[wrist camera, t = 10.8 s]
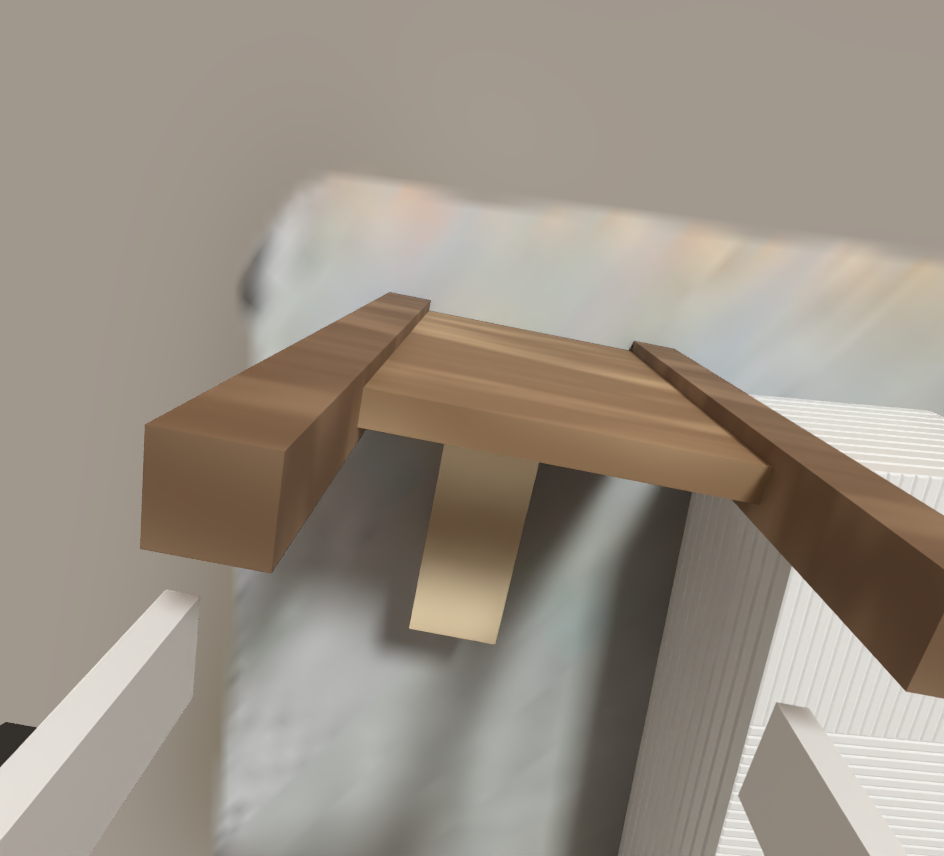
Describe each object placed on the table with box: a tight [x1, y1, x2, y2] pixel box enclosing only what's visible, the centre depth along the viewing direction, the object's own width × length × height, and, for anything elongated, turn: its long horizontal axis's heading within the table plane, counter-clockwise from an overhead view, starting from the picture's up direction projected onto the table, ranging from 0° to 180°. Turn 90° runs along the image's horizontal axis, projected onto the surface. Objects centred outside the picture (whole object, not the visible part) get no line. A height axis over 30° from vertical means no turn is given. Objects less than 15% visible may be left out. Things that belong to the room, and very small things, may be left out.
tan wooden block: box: [409, 444, 539, 644], centre depth 30 cm, size 12×4×6 cm, turn 169°
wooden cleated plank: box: [140, 292, 944, 699], centre depth 20 cm, size 4×14×22 cm, turn 79°
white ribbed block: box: [618, 394, 944, 856], centre depth 31 cm, size 32×11×11 cm, turn 175°
